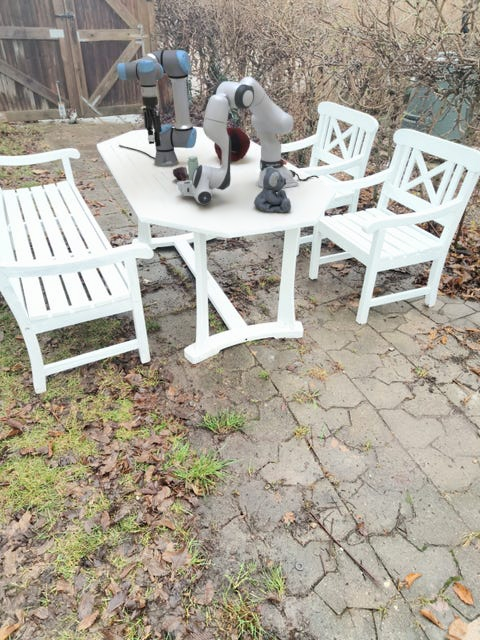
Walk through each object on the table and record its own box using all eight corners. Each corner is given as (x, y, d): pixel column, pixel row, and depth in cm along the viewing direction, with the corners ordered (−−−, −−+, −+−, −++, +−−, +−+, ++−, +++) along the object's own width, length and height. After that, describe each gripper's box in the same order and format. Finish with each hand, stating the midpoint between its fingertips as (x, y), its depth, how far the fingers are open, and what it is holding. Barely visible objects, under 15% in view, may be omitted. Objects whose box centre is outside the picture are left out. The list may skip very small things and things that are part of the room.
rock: (186, 179, 270) (170, 181, 266) (185, 164, 266) (169, 166, 262) (194, 181, 261) (178, 183, 256) (192, 166, 257) (176, 168, 253)
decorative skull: (211, 133, 303) (210, 130, 280) (245, 125, 303) (247, 122, 279) (218, 165, 310) (218, 165, 287) (251, 158, 309) (254, 157, 286)
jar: (192, 189, 251) (190, 155, 240) (201, 190, 249) (199, 156, 239) (188, 192, 247) (185, 158, 236) (197, 194, 245) (195, 159, 235)
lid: (153, 138, 237) (152, 134, 236) (163, 139, 235) (162, 135, 233) (145, 141, 232) (145, 136, 231) (155, 142, 230) (155, 137, 229)
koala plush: (292, 213, 220) (294, 173, 209) (255, 214, 219) (256, 174, 208) (286, 201, 234) (288, 162, 223) (252, 202, 233) (252, 164, 222)
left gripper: (134, 94, 226) (140, 142, 239) (151, 99, 213) (157, 149, 226) (147, 93, 230) (152, 140, 243) (165, 97, 217) (170, 147, 230)
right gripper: (217, 180, 235) (212, 172, 246) (179, 184, 230) (175, 176, 241) (218, 192, 238) (212, 184, 249) (180, 196, 234) (176, 187, 245)
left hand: (154, 144), depth 235 cm, fingers closed on lid, 6 cm apart
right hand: (193, 180), depth 245 cm, fingers closed on jar, 5 cm apart
